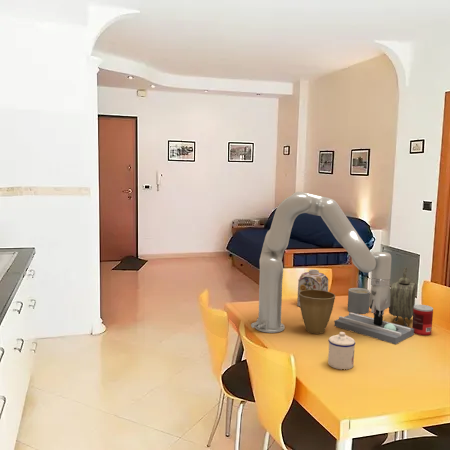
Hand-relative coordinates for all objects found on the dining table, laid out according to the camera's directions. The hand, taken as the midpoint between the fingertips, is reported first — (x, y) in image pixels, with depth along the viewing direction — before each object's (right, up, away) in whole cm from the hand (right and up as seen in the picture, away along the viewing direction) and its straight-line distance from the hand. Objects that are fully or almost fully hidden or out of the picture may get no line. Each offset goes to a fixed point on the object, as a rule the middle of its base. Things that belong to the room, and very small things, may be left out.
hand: (377, 324), depth 200 cm
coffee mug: (0, +1, +31) cm, 31 cm away
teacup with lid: (-24, -7, -32) cm, 41 cm away
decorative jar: (-21, +2, +36) cm, 42 cm away
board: (-1, -3, +2) cm, 4 cm away
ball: (+3, -1, -4) cm, 6 cm away
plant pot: (-26, -3, 0) cm, 26 cm away
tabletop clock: (+14, -2, +13) cm, 19 cm away
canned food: (+18, -4, 0) cm, 19 cm away
